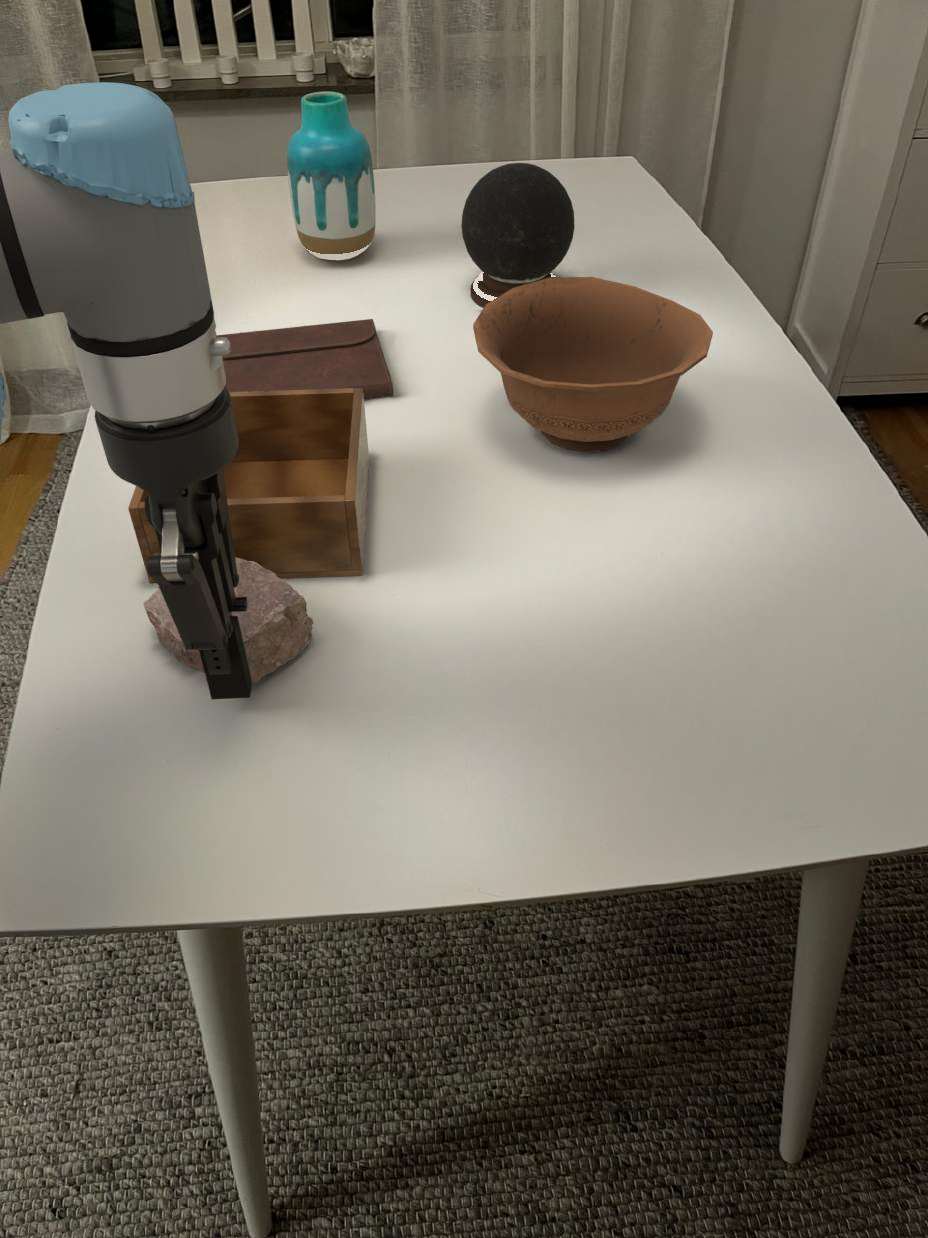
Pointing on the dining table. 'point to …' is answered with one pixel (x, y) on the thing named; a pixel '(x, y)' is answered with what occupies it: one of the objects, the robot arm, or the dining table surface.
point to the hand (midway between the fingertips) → (232, 691)
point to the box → (292, 483)
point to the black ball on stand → (516, 227)
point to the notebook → (309, 359)
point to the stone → (249, 621)
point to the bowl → (589, 356)
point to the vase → (331, 178)
